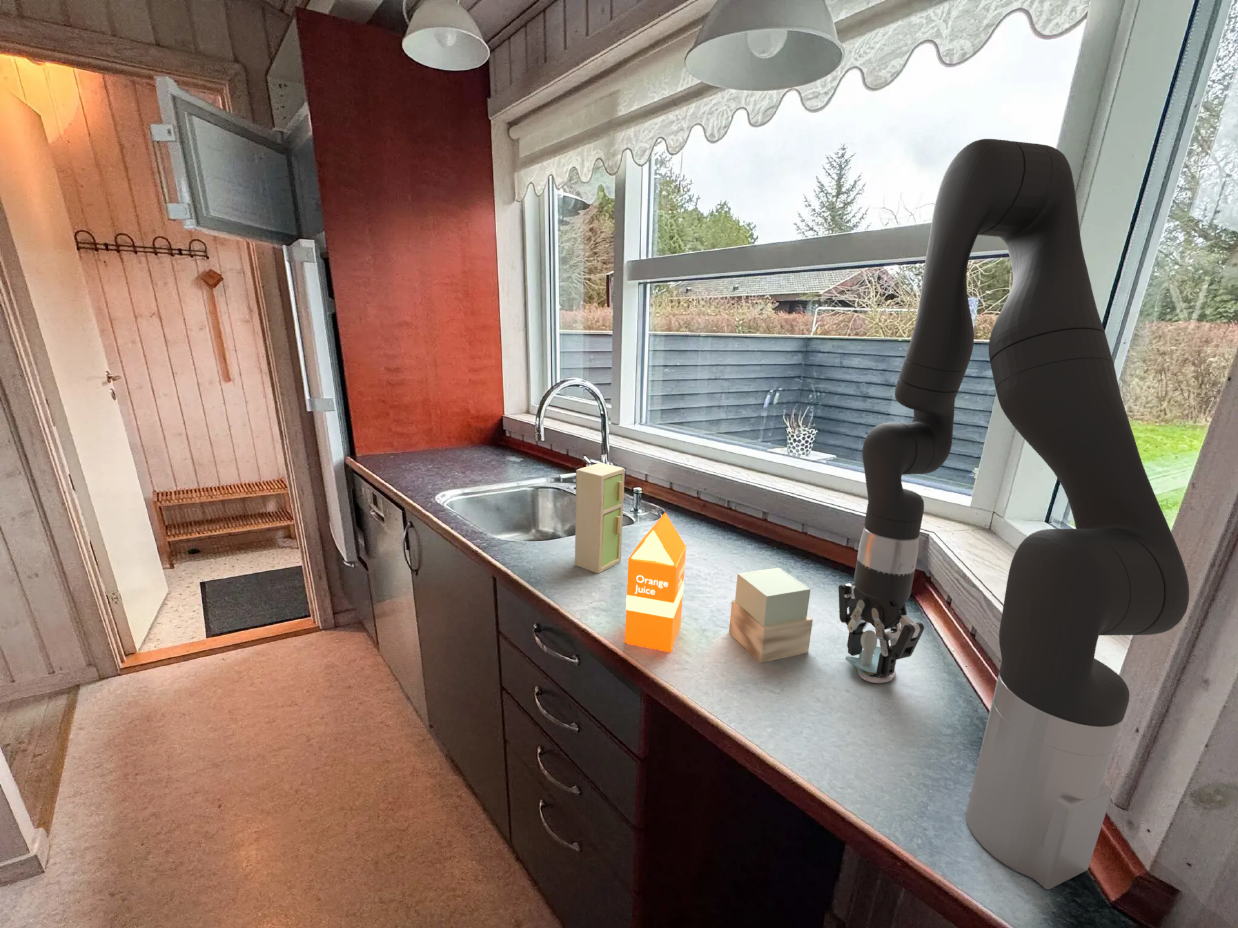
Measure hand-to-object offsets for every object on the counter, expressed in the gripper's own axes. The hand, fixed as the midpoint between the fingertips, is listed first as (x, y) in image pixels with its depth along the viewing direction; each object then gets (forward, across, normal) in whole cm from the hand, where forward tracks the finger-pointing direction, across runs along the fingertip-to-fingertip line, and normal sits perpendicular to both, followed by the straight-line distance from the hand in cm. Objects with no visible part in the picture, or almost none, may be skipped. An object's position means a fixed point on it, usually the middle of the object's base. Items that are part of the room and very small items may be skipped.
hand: (868, 663), depth 82 cm
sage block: (-5, +11, +10) cm, 16 cm away
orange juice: (+1, +19, +27) cm, 33 cm away
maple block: (+1, +11, +10) cm, 15 cm away
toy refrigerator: (+1, +47, +27) cm, 54 cm away
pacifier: (+1, -1, 0) cm, 1 cm away
